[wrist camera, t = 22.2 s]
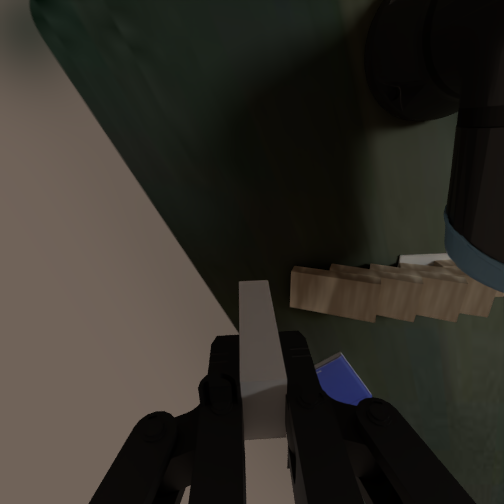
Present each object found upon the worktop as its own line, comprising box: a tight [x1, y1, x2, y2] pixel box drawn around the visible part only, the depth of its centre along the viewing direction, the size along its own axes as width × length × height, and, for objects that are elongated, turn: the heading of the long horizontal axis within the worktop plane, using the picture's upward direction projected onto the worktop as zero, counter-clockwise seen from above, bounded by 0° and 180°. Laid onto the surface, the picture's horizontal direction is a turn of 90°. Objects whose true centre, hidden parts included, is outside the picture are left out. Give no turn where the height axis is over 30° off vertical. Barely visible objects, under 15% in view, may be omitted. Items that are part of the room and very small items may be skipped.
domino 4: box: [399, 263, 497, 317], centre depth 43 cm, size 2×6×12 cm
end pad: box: [398, 253, 450, 268], centre depth 46 cm, size 8×8×1 cm
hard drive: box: [314, 352, 372, 406], centre depth 54 cm, size 2×8×12 cm
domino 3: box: [370, 263, 469, 322], centre depth 43 cm, size 2×6×12 cm
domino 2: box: [330, 264, 424, 322], centre depth 43 cm, size 2×6×12 cm
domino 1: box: [290, 266, 381, 323], centre depth 43 cm, size 2×6×12 cm
